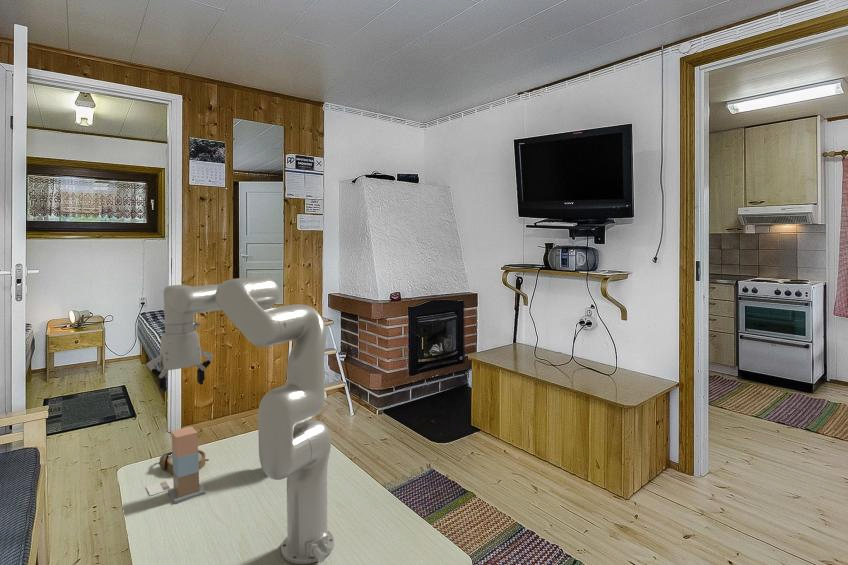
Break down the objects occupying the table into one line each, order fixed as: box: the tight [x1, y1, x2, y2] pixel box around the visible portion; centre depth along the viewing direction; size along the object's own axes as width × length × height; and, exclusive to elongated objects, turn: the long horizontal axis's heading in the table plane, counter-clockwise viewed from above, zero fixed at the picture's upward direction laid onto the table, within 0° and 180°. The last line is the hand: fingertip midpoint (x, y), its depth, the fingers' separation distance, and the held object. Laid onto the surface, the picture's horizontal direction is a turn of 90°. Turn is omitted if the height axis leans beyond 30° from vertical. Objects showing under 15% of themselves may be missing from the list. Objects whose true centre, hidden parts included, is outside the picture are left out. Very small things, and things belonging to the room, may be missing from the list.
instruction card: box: [145, 478, 174, 497], centre depth 141 cm, size 6×9×1 cm, turn 131°
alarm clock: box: [158, 449, 210, 475], centre depth 153 cm, size 11×5×15 cm
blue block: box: [171, 450, 200, 478], centre depth 136 cm, size 6×6×6 cm
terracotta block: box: [171, 426, 199, 458], centre depth 136 cm, size 6×6×6 cm
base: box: [167, 471, 206, 505], centre depth 137 cm, size 8×8×7 cm
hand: (182, 386), depth 134 cm, fingers open, 9 cm apart
